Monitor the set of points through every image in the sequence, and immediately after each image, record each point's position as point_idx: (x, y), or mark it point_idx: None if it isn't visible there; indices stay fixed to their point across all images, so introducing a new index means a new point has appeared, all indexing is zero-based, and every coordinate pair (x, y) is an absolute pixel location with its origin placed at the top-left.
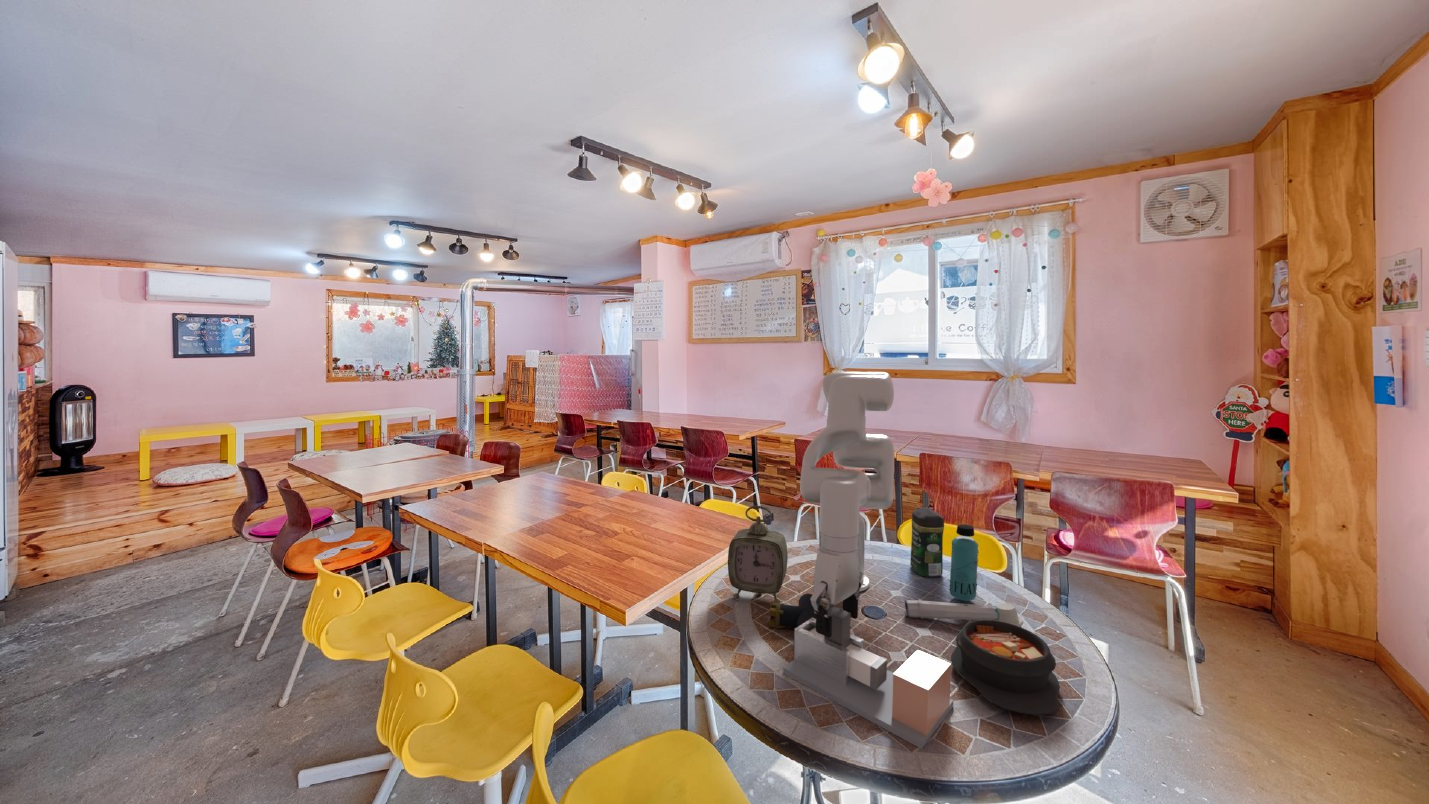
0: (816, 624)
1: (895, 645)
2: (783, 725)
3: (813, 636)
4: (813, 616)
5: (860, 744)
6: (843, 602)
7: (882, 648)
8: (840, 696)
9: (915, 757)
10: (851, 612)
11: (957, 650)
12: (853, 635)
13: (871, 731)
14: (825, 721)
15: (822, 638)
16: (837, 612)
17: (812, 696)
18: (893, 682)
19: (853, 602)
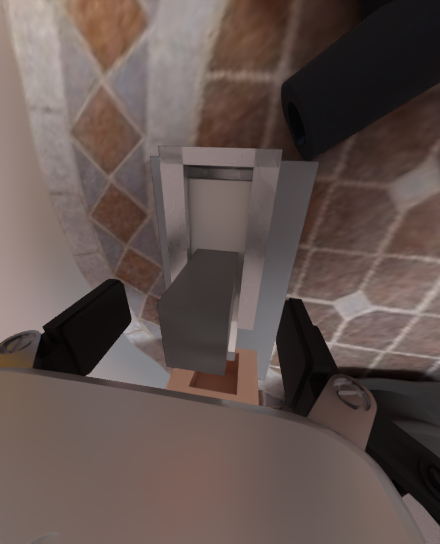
0: (91, 293)
1: (394, 293)
2: (75, 239)
3: (172, 228)
4: (401, 78)
5: (134, 318)
6: (297, 337)
7: (368, 278)
8: (168, 283)
9: (163, 356)
10: (281, 342)
11: (395, 384)
12: (255, 308)
13: (159, 321)
14: (128, 277)
15: (183, 253)
16: (189, 344)
17: (151, 240)
18: (167, 386)
19: (287, 392)
